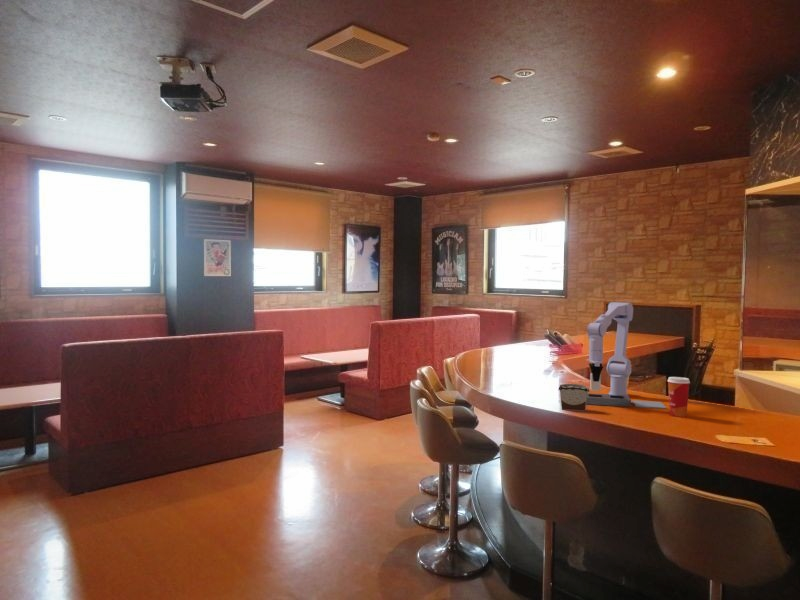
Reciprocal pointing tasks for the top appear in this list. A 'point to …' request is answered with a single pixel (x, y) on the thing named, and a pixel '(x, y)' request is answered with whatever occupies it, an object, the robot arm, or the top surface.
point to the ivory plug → (595, 384)
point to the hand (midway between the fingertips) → (595, 380)
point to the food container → (573, 397)
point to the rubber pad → (648, 404)
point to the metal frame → (608, 400)
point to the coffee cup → (678, 396)
